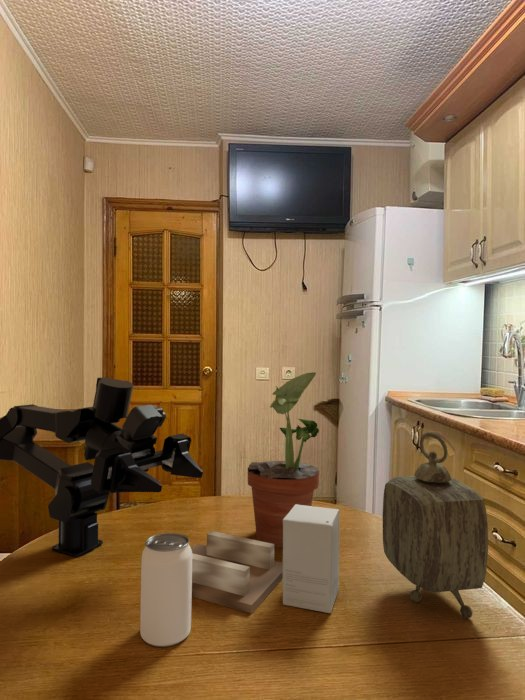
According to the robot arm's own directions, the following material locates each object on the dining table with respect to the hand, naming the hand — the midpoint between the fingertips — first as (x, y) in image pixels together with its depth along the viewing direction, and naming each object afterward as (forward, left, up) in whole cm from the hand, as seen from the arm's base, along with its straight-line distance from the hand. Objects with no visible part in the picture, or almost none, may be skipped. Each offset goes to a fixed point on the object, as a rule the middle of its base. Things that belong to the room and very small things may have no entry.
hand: (182, 481), depth 73 cm
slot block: (+4, +6, -16) cm, 18 cm away
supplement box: (+19, +7, -17) cm, 26 cm away
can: (+5, -10, -17) cm, 20 cm away
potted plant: (+6, +27, -17) cm, 32 cm away
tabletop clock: (+35, +14, -17) cm, 41 cm away
